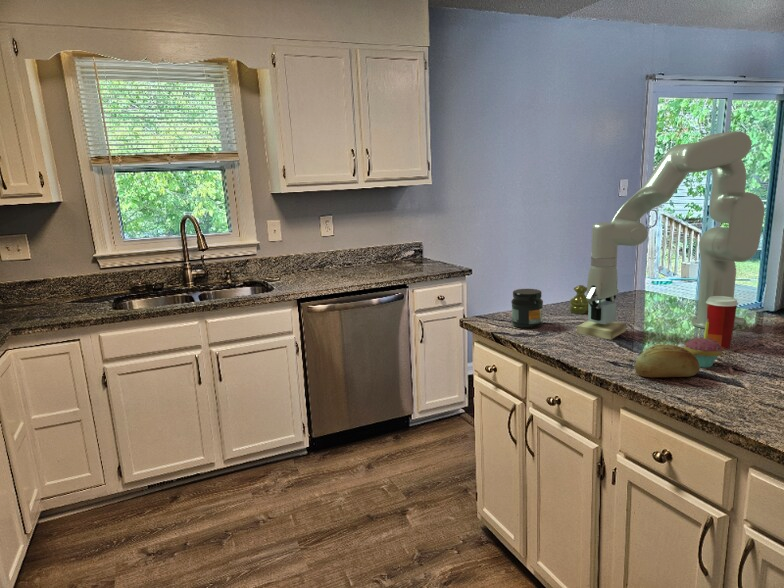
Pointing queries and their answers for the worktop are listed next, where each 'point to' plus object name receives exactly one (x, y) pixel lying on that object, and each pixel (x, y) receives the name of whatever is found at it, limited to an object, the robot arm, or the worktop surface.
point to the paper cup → (721, 319)
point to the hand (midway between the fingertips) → (602, 317)
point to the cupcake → (704, 349)
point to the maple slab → (601, 329)
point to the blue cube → (605, 312)
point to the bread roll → (666, 362)
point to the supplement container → (527, 308)
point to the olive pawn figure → (579, 301)
